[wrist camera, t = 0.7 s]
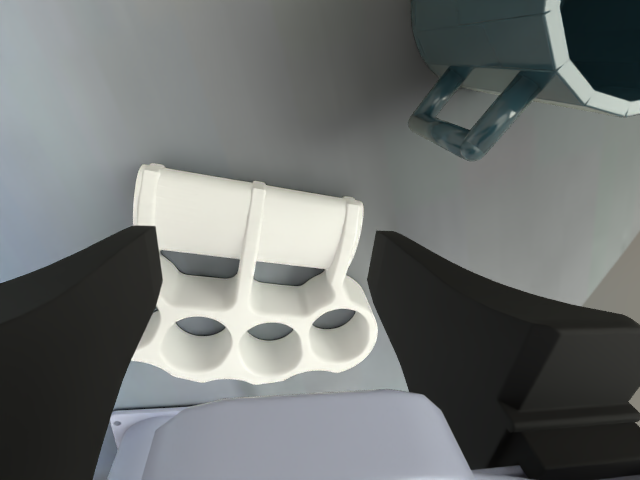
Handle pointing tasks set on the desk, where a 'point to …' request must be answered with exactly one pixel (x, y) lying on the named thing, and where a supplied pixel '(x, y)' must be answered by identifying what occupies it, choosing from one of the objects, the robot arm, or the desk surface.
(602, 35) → the mug
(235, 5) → the desk surface
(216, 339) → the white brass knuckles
